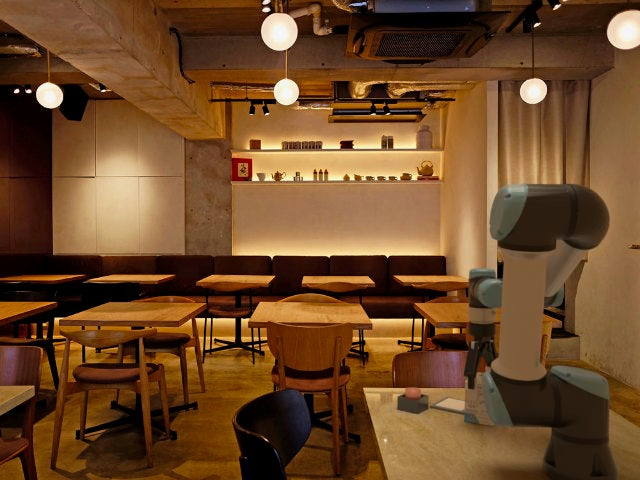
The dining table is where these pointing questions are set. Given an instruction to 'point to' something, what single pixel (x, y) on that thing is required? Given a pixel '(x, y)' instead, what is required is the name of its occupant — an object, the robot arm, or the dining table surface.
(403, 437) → the dining table surface
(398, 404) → the button housing
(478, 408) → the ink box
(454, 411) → the board
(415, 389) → the button
